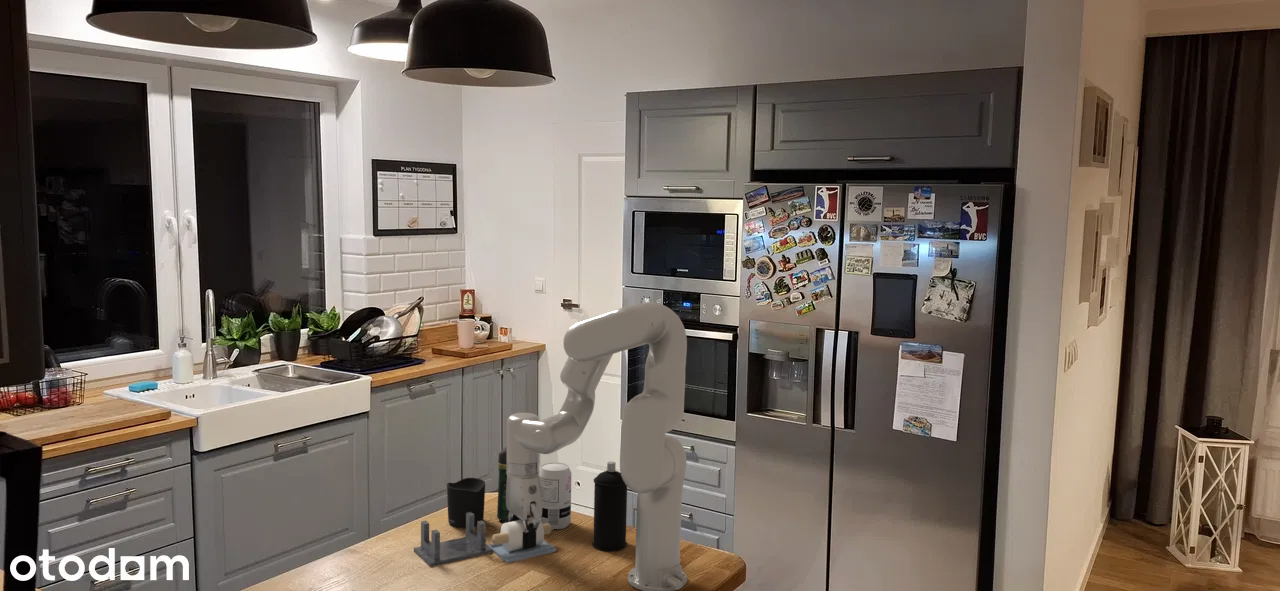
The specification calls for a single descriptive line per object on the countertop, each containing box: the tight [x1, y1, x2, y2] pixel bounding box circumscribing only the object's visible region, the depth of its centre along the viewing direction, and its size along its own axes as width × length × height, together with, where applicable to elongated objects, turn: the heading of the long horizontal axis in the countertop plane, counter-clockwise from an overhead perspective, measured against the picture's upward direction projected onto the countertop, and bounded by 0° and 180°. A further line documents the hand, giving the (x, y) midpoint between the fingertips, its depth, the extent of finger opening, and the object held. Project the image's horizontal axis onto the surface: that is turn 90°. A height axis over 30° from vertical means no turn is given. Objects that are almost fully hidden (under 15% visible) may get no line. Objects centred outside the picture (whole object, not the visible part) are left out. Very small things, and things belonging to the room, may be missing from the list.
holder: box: [413, 512, 494, 567], centre depth 197 cm, size 15×10×7 cm, turn 125°
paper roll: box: [491, 520, 552, 552], centre depth 199 cm, size 14×6×6 cm, turn 125°
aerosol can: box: [592, 461, 628, 552], centre depth 203 cm, size 8×8×20 cm
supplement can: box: [539, 462, 572, 531], centre depth 215 cm, size 8×8×15 cm
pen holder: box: [446, 477, 486, 529], centre depth 216 cm, size 9×9×10 cm
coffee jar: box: [496, 446, 530, 523], centre depth 220 cm, size 10×8×19 cm
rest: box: [487, 540, 557, 564], centre depth 200 cm, size 13×10×1 cm
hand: (522, 541), depth 200 cm, fingers closed on paper roll, 6 cm apart
